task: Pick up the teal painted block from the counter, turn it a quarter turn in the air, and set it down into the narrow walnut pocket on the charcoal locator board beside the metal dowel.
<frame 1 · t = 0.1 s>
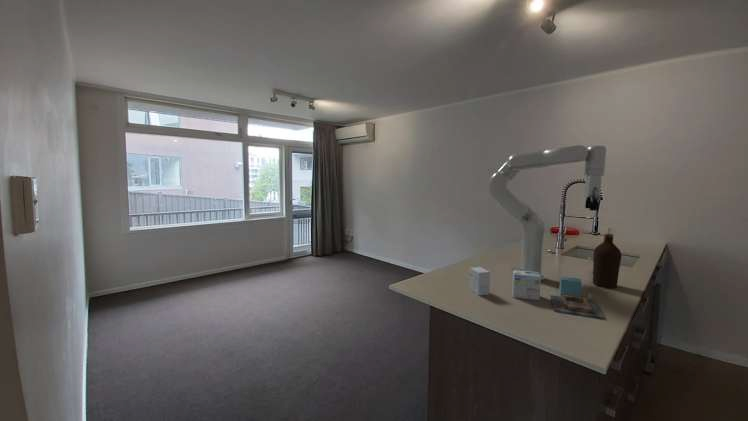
hand: (591, 209, 147), 37 cm above the counter, tool pointing down, fingers open, 9 cm apart
locator board: (575, 307, 126), on the counter
small box: (479, 292, 142), on the counter
olive oil: (604, 285, 150), on the counter
teal block: (569, 294, 139), on the counter
light bulb box: (525, 296, 137), on the counter
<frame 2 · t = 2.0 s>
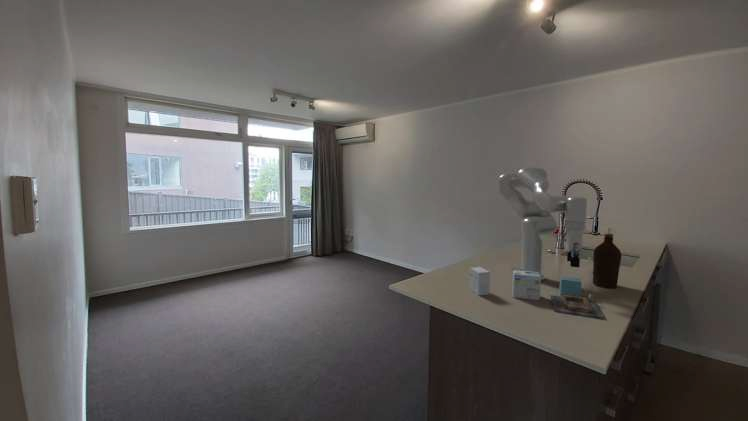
hand: (572, 264, 137), 14 cm above the counter, tool pointing down, fingers open, 9 cm apart
nothing on the counter moved.
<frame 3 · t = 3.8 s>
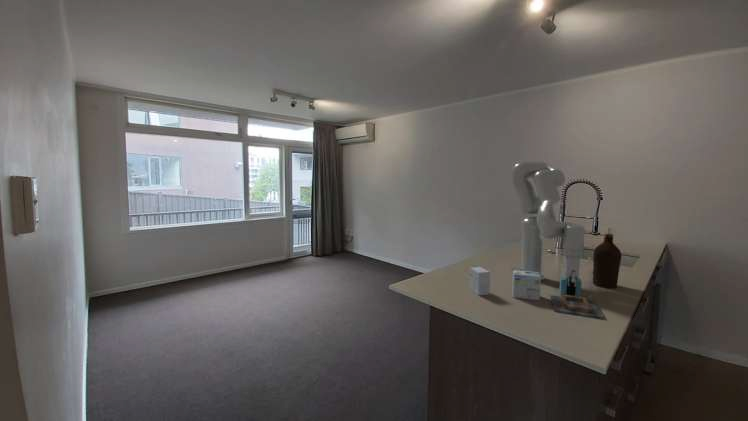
hand: (569, 292, 139), 1 cm above the counter, tool pointing down, fingers closed on teal block, 4 cm apart
teal block: (569, 294, 139), on the counter, touching gripper
everything else where it was.
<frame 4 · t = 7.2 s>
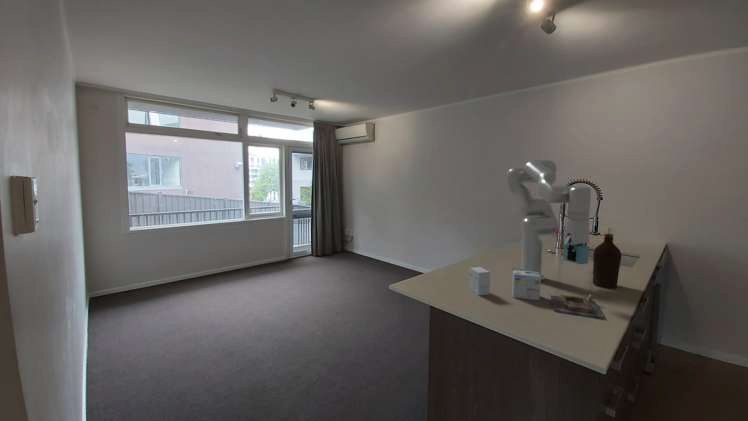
hand: (575, 259, 131), 18 cm above the counter, tool pointing down, fingers closed on teal block, 4 cm apart
teal block: (575, 261, 131), point 17 cm above the counter, touching gripper
everything else where it was.
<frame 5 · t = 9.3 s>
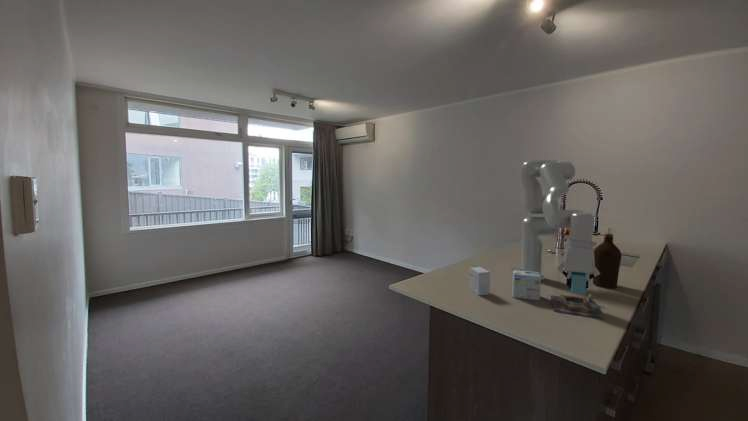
hand: (576, 288, 124), 8 cm above the counter, tool pointing down, fingers closed on teal block, 4 cm apart
teal block: (576, 290, 124), point 7 cm above the counter, touching gripper
everything else where it was.
when the fingers open (3 cm above the counter, at t = 10.8 s): teal block drops 1 cm, resting on locator board.
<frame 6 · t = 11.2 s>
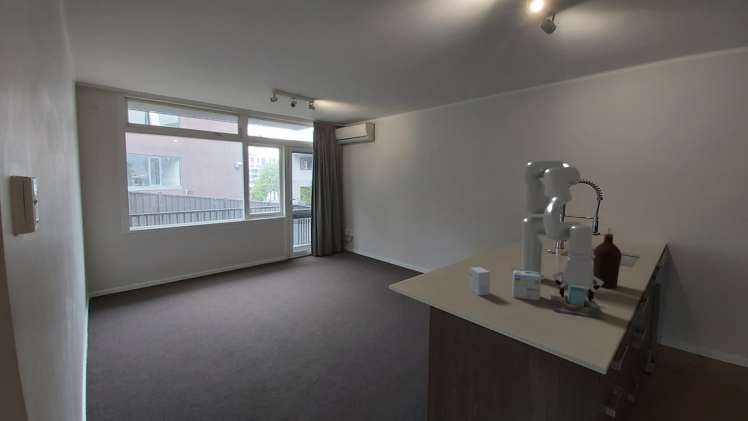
hand: (575, 298, 125), 4 cm above the counter, tool pointing down, fingers open, 9 cm apart
teal block: (575, 305, 125), point 1 cm above the counter, touching locator board
everything else where it was.
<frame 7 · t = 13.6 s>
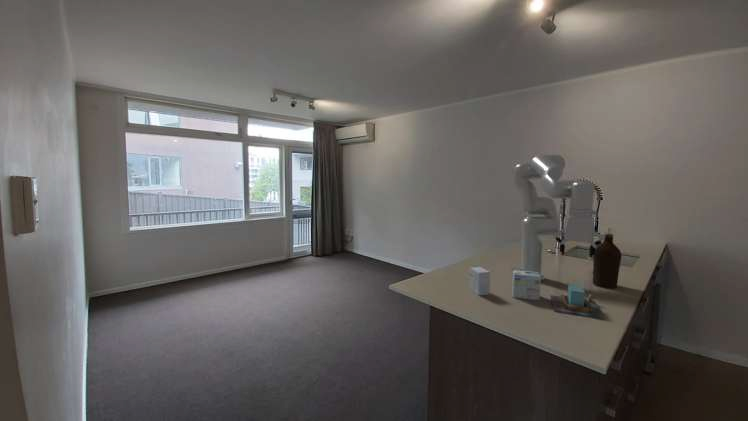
hand: (576, 255, 125), 21 cm above the counter, tool pointing down, fingers open, 9 cm apart
nothing on the counter moved.
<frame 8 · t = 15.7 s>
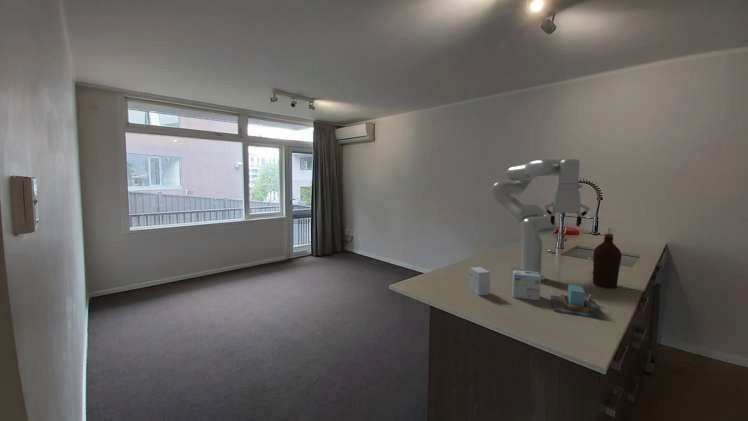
hand: (565, 225, 140), 30 cm above the counter, tool pointing down, fingers open, 9 cm apart
nothing on the counter moved.
at the end: teal block 0.0 cm off-centre on the locator board, point 0.8 cm above the locator board's base; teal block tilted 0°; the gripper is holding nothing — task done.
